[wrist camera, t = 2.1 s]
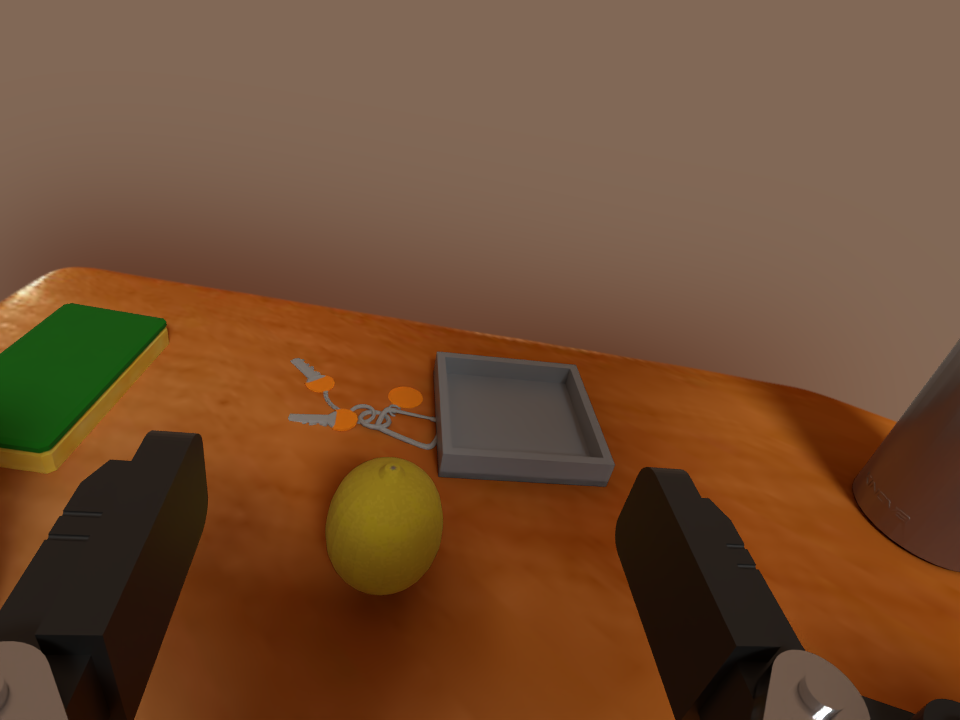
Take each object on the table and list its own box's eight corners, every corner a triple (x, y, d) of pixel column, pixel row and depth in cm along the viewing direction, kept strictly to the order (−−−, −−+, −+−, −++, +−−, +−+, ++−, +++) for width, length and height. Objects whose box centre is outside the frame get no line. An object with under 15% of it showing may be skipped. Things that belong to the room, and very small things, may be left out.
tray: (569, 384, 48) (575, 364, 47) (605, 486, 39) (614, 465, 38) (433, 372, 46) (437, 351, 45) (438, 476, 37) (443, 453, 36)
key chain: (456, 400, 44) (457, 391, 44) (430, 465, 38) (432, 456, 38) (296, 357, 45) (296, 348, 45) (246, 414, 39) (246, 404, 39)
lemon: (347, 646, 27) (358, 533, 23) (308, 555, 31) (310, 442, 26) (450, 601, 30) (477, 492, 26) (403, 521, 34) (419, 415, 29)
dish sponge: (172, 345, 44) (168, 317, 43) (54, 480, 32) (44, 448, 31) (73, 329, 43) (66, 300, 42) (-82, 460, 32) (-98, 426, 31)
